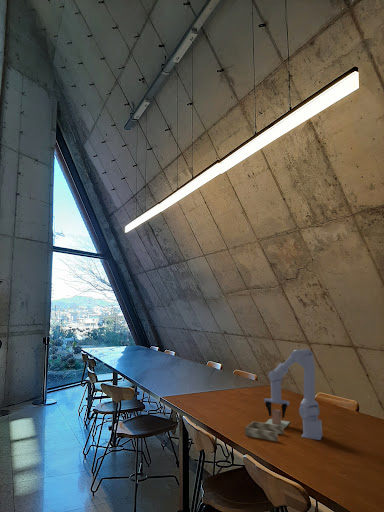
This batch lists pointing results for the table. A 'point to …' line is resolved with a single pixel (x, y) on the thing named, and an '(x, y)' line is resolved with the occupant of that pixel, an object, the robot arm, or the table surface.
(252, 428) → the slot housing
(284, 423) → the mat
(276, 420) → the terracotta block
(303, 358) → the robot arm
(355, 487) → the table surface
